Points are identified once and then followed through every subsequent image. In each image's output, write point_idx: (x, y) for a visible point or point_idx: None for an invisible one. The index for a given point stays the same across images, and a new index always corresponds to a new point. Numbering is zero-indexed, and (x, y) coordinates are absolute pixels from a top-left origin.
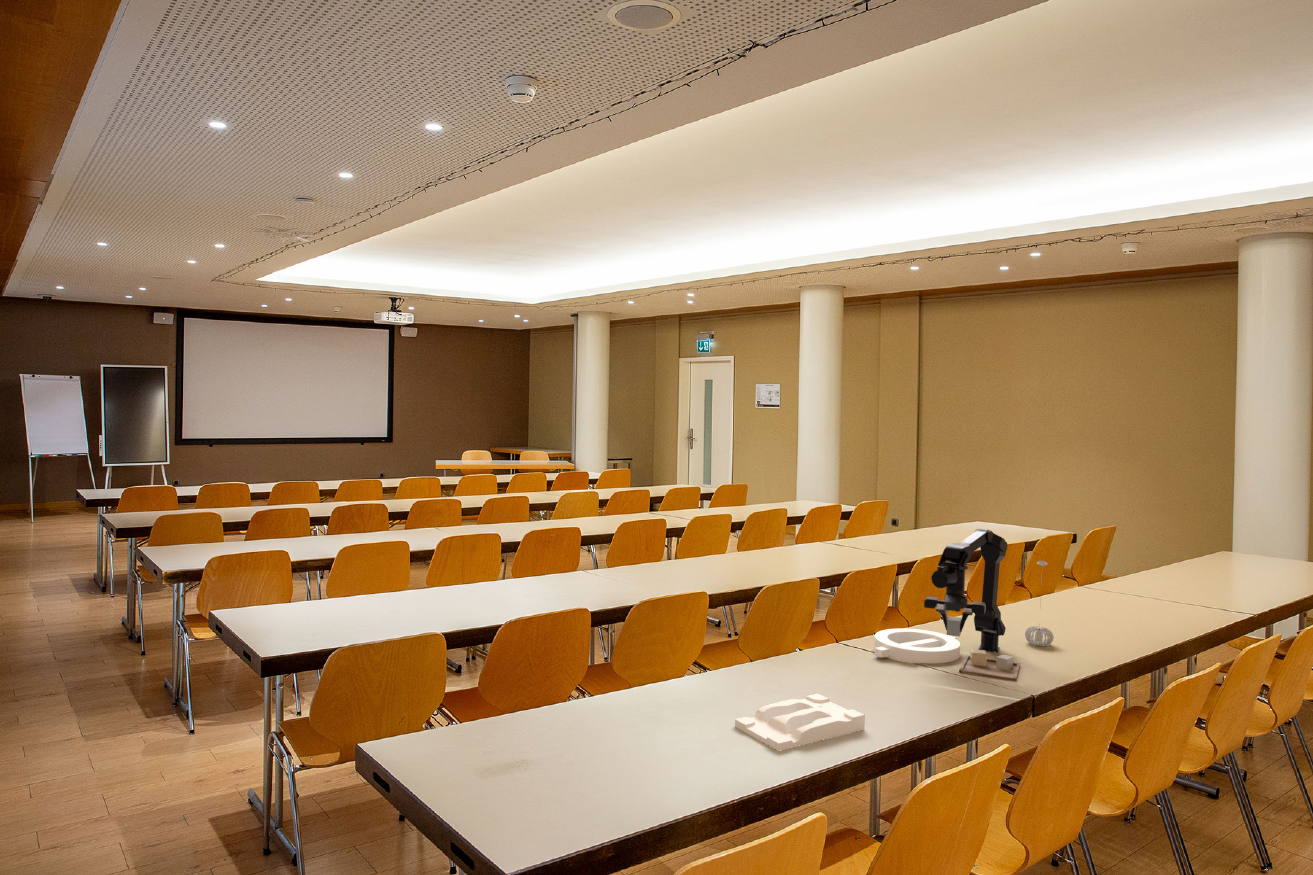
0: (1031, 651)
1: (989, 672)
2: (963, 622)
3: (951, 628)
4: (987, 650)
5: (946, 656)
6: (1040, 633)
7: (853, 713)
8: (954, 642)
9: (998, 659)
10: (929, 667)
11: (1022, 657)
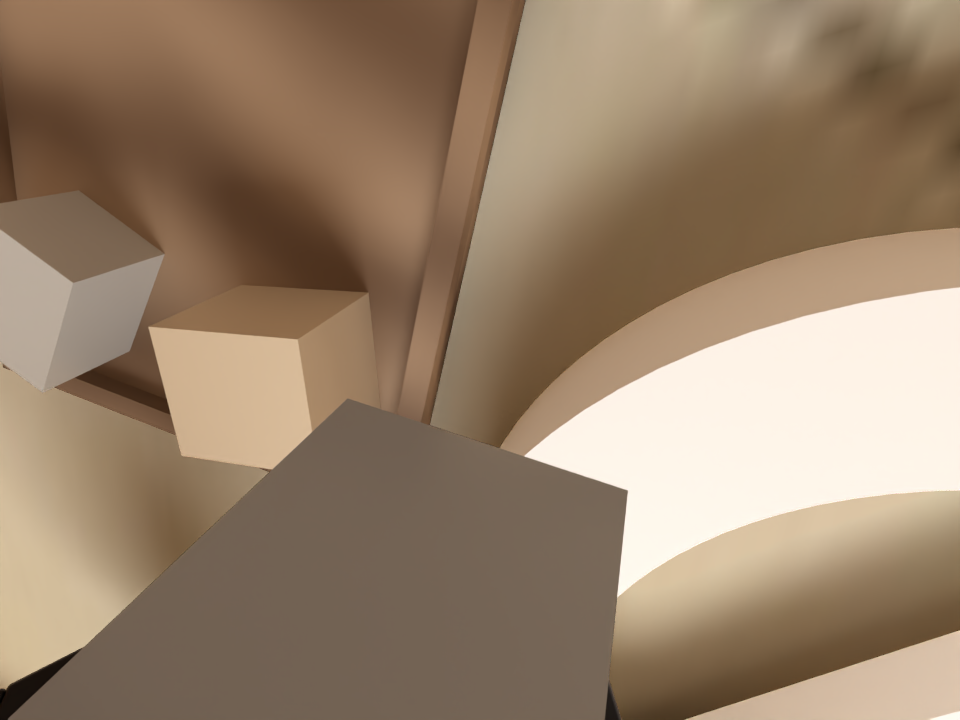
0: None
1: (203, 43)
2: (12, 714)
3: (474, 573)
4: None
5: (630, 350)
6: None
7: None
8: None
9: (73, 260)
10: (928, 91)
11: (58, 568)
